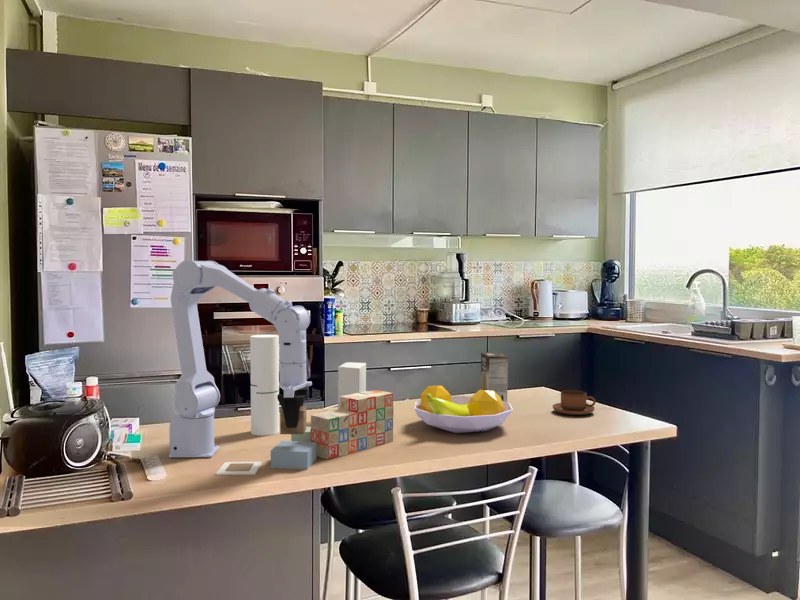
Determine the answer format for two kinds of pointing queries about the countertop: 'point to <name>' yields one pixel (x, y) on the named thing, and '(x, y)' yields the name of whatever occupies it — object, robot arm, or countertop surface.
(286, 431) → the walnut cube
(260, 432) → the cylindrical container
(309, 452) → the base block
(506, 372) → the coffee box
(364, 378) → the skincare box
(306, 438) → the sage cube
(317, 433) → the stack of blocks
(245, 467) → the white flat square frame
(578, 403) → the cup and saucer
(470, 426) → the fruit bowl
